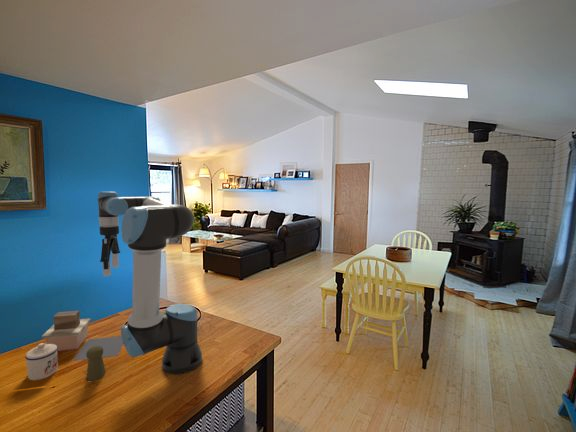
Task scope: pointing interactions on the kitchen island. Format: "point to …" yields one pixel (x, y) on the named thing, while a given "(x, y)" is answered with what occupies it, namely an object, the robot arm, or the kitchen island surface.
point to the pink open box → (69, 341)
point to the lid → (66, 325)
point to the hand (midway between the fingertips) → (111, 271)
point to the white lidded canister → (42, 361)
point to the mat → (108, 344)
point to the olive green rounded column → (95, 364)
